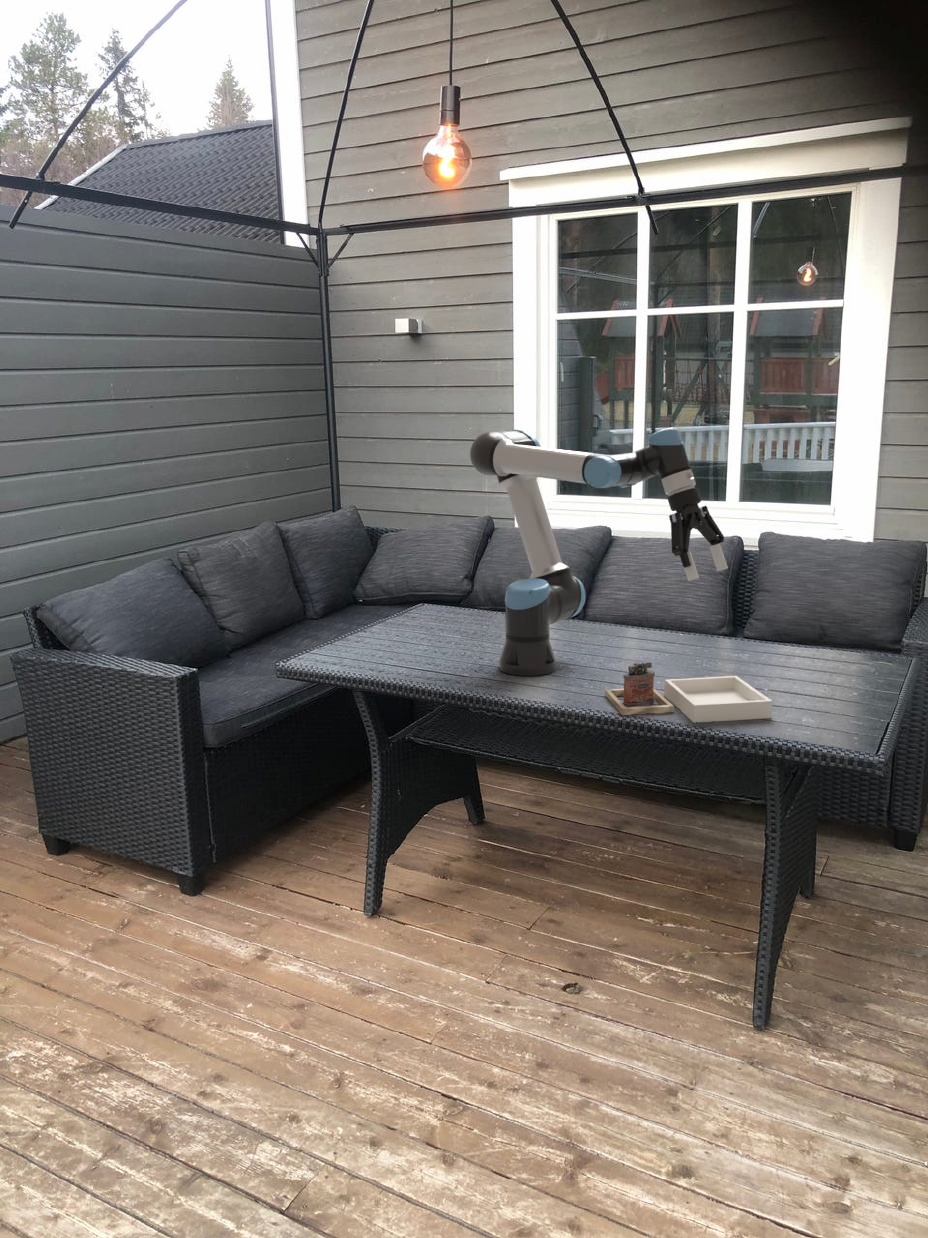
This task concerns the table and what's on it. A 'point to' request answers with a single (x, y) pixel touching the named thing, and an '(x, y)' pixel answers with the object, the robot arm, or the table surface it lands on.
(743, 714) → the tray
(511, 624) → the robot arm
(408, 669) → the table surface
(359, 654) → the table surface
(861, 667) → the table surface
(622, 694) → the holder
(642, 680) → the lighter
